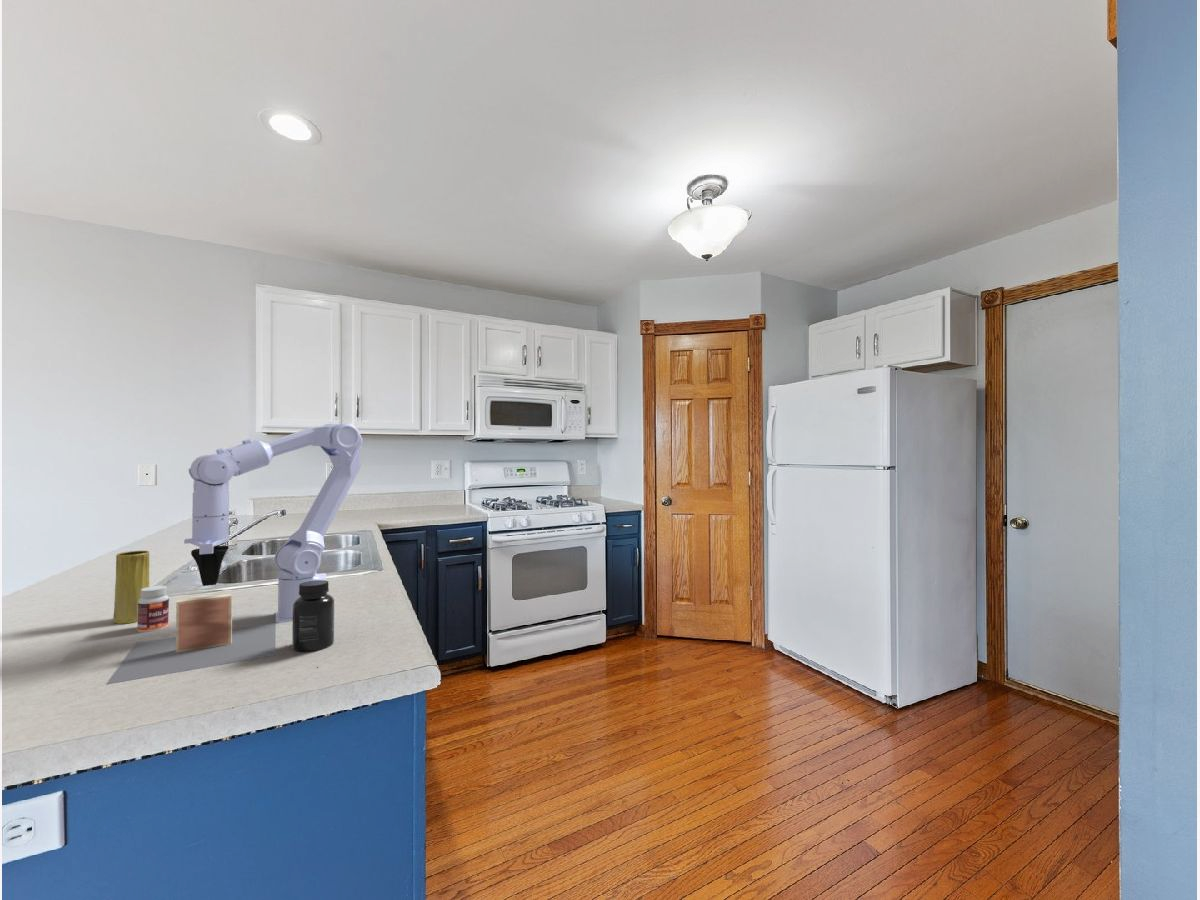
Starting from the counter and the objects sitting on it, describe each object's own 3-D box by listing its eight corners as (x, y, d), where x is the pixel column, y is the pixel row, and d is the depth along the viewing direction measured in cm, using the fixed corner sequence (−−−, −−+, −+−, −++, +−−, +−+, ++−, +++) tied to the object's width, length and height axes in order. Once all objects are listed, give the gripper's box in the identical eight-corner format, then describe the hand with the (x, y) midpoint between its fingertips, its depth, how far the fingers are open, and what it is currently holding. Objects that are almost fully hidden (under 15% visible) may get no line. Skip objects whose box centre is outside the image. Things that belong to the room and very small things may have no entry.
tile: (231, 641, 97) (232, 593, 97) (231, 644, 96) (231, 596, 96) (177, 649, 93) (177, 599, 93) (175, 653, 91) (176, 602, 91)
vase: (128, 615, 113) (129, 550, 113) (158, 614, 113) (159, 550, 113) (104, 624, 107) (105, 555, 107) (136, 624, 107) (136, 555, 107)
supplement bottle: (342, 643, 98) (343, 580, 98) (311, 656, 91) (312, 589, 91) (314, 638, 100) (315, 577, 100) (283, 651, 94) (283, 585, 94)
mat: (275, 624, 108) (275, 622, 108) (275, 657, 91) (275, 655, 91) (136, 644, 96) (136, 642, 96) (106, 686, 79) (106, 684, 79)
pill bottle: (150, 634, 101) (150, 591, 101) (131, 632, 102) (131, 590, 102) (174, 626, 106) (175, 585, 106) (156, 624, 107) (156, 584, 107)
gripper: (190, 512, 105) (189, 579, 105) (178, 521, 93) (177, 596, 93) (232, 510, 109) (231, 575, 109) (226, 518, 97) (225, 591, 96)
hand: (209, 584), depth 101 cm, fingers closed
